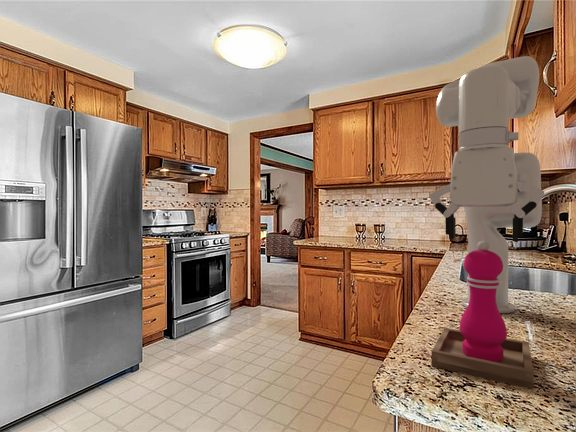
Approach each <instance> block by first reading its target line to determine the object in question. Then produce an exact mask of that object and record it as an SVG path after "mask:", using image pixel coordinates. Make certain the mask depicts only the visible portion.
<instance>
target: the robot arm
mask: <svg viewBox="0 0 576 432" xmlns="http://www.w3.org/2000/svg"><path fill="white" fill-rule="evenodd" d="M539 84H540V67H539V65H538V62H537V60H536V59H535V58H533V57H531V56H528V55H525V56H519V57H514V58H509V59H504V60H499V61H494V62H493V61H492V62H489V63H485V64H482V65H481V66H479V67H476V68H473V69H471V70H469V71H467V72H465V73H464V74H463V75H462V76H461V78H459V79H457V80H454V81H452V82H450V83H448V84H445V86H443V87H442V89H440V92H439V94H438V97H437V98H436V103H435V114H436V117H437V121H438V122H439V124H441V125H442V126H443V127H448V128H449V127H450V128H452V127H458V151H455V152H454V155H453V160H452V164H451V173H450V183H449V184H446V185H445V186H443V187H441V188H439V189H438V190H435V191H433V192H431V193H430V194H429V198H430V200H431V202H432V204H433V205H434V208H435V209H436V210H437V211H438V212H439V213H440V214H442V215H443V217H444V218H445V229H444V230H445V231H444V232H445V235H446V236H447V235H448V240H449V241H450V240H454V239H456V235H457V234H456V232H457V231H456V222H457V221H456V217H455V213H456V212H457V211H458V210H459V209H460V208H464V213H465V219H466V227H467V240H468V241H467V242H468V243H467V247H468V249H467V250H468V251H467V254H469V253H470V252H472V251H475V250H479V249H478V247H477V245H478V243H479V242H481V241H485V242H487V243H488V245H489V248H488V251H492V252H494V253H496V254H497V255H498V256H499V257H500V258H501V260H502V262H503V270H502V272H501V274H499V275H498V277H497V279H499V280H500V282H498V283H499V286H500V287H499V288H497V290H496V303H497V307H498V310H499V312H500V314H508V313H510V314H511V313H513V312H515V310H516V306H515V305H514V304H513V303H511V302H510V301H509V244H508V241H507V240H506V238H505V237H504V236H503V235H502V234H501V233H500V232H499V231H498V229H499V228H512V242H514V243H518V242H519V238H523V237H524V230H523V229H524V228H534V227H536V226H538V225H539V224H540V223H541V219H542V216H543V215H542V212H543V201H542V200H543V199H542V198H543V197H544V196H545V191H544V190H542V177H541V176H542V171H541V165H540V164H541V163H540V161H539V158H538V157H537V155H536V154H534V153H531V152H515V150H514V148H513V147H512V146H509V144H511V142H514V141H519V131H515V132H513V131H511V130H509V119H510V120H512V119H520V118H525V117H528V116H529V115H531V114H532V113H533V112H534V110H535V108H536V105H537V104H536V103H537V98H538V97H537V96H538V92H539V91H538V90H539ZM447 194H449V200H450V201H449V202H450V205H448V207H447V206H446V205H444V204H443V203H442V201H441V197H443V196H445V195H447ZM468 276H469V274H468V273H467V277H468ZM469 300H470V287H469V285H467V297H465V298H463V299H461V305H462V306H463V305H464V306H463V307H465V308H467V306H468V304H469Z"/></svg>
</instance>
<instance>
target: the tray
mask: <svg viewBox="0 0 576 432" xmlns="http://www.w3.org/2000/svg"><path fill="white" fill-rule="evenodd" d="M464 340H465V337H464V336H463V335H462V334H461V332H460V329H459V330H458V329H452V328H446V327H444V328H443V330H442V332H441V333H440V335H439V337H438V338H437V341H436V342H435V344H434V346H433V348H432V350H431V360H430V362H431V367H434V368H438V369H442V370H447V371H451V372H456V373H460V374H463V375H469V376H473V377H474V376H475V377H478V378H482V379H485V380H486V379H487V380H491V381H495V382H500V383H504V384H507V385H512V386H516V387H517V386H518V387H521V388H525V389H530V390H534V367H533V362H532V361H533V360H532V355H531V349H530V343H529V341H524V340H518V339H513V338H506V339H505V341H504V342H502V343H501V344H500V345H501V346H502V347H503V349H504V350H503V360H501V361H499V362H492V361H487V360H482V359H477V358H473V357H468V356H467V355H465V354H464V353H463V351H462V342H463V341H464Z"/></svg>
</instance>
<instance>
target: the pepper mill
mask: <svg viewBox="0 0 576 432" xmlns="http://www.w3.org/2000/svg"><path fill="white" fill-rule="evenodd" d="M477 247H478V249H479V250H475V251H472V252H470V253H469V254H468V253H467V254H466V255H465V257H464V260H463V269H464V270H465V271H466V273H467V277H466V285H467V286H468V285H469V287H470V300H469V304H468V306H467V307H465V310H464V312H463V313H462V316H461V318H460V321H459V330H460V332H461V334H462V335H463V336H464V337H465V340H464V341H463V342H462V351H463V353H464V354H465V355H467V356H468V357H473V358H477V359H482V360H487V361H492V362H499V361H501V360H503V350H504V349H503V347H502V346H501V345H500V344H501V343H502V342H504V341H505V339H506V338H507V337H508V333H507V326H506V323H505V320H504V319H503V316H502V315H501V314H502V313H500V312H499V310H498V307H497V303H496V290H497V288H499V287H500V286H499V283H498V282H500V280H499V279H497V277H498V275H499V274H501V272H502V270H503V262H502V260H501V258H500V257H499V256H498V255H497V254H496V253H494V252H492V251H488V248H489V245H488V243H487V242H485V241H481V242H479V243H478V245H477ZM468 274H469V276H468ZM507 339H508V338H507Z"/></svg>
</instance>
